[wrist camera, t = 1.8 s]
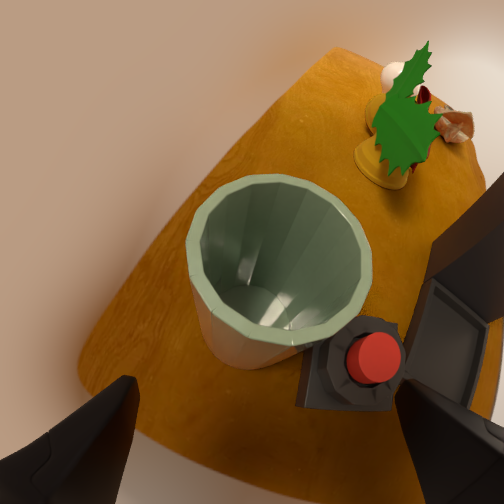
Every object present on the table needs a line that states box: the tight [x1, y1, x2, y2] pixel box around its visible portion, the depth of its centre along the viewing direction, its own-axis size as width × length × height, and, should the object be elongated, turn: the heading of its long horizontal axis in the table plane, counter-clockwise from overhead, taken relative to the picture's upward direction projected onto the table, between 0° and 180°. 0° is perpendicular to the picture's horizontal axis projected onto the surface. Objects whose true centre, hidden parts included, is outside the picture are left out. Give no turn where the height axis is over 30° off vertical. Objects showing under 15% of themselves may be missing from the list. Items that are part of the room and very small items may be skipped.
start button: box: [346, 332, 401, 384], centre depth 15 cm, size 3×3×2 cm
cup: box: [185, 174, 372, 370], centre depth 15 cm, size 7×7×12 cm
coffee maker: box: [399, 172, 504, 409], centre depth 16 cm, size 16×10×14 cm, turn 146°
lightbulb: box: [381, 62, 421, 97], centre depth 33 cm, size 6×6×11 cm
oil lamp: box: [434, 105, 474, 143], centre depth 37 cm, size 9×21×10 cm, turn 144°
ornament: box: [353, 41, 443, 190], centre depth 26 cm, size 21×8×15 cm, turn 160°
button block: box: [295, 315, 406, 411], centre depth 18 cm, size 7×7×4 cm
